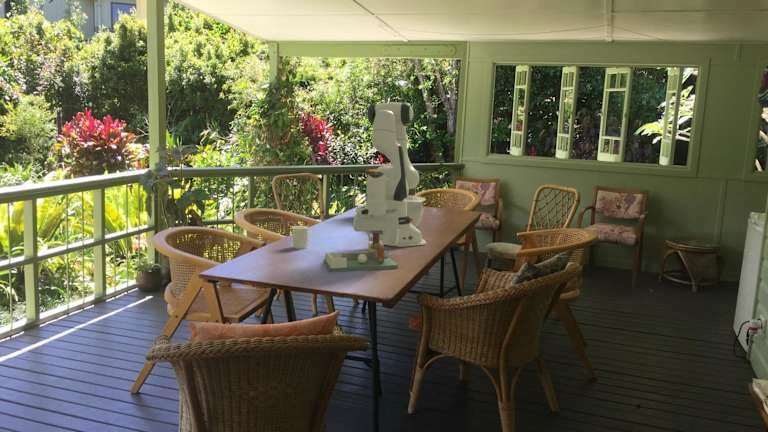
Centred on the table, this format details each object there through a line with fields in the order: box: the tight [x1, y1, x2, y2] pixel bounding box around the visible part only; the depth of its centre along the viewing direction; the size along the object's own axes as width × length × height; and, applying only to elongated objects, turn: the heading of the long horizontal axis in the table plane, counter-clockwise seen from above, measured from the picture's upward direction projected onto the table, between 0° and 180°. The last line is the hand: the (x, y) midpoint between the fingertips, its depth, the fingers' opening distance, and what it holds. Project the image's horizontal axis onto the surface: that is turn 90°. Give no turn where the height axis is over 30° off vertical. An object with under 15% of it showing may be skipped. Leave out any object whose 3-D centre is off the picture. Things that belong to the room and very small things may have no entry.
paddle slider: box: [367, 231, 385, 263], centre depth 273 cm, size 6×13×11 cm, turn 15°
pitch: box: [323, 251, 399, 273], centre depth 270 cm, size 29×17×6 cm, turn 105°
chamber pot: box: [406, 194, 427, 228], centre depth 362 cm, size 28×28×21 cm
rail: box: [324, 250, 389, 261], centre depth 276 cm, size 28×2×3 cm, turn 105°
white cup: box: [291, 225, 310, 250], centre depth 305 cm, size 8×8×10 cm
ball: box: [358, 254, 367, 263], centre depth 268 cm, size 4×4×4 cm
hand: (376, 240), depth 277 cm, fingers open, 4 cm apart
